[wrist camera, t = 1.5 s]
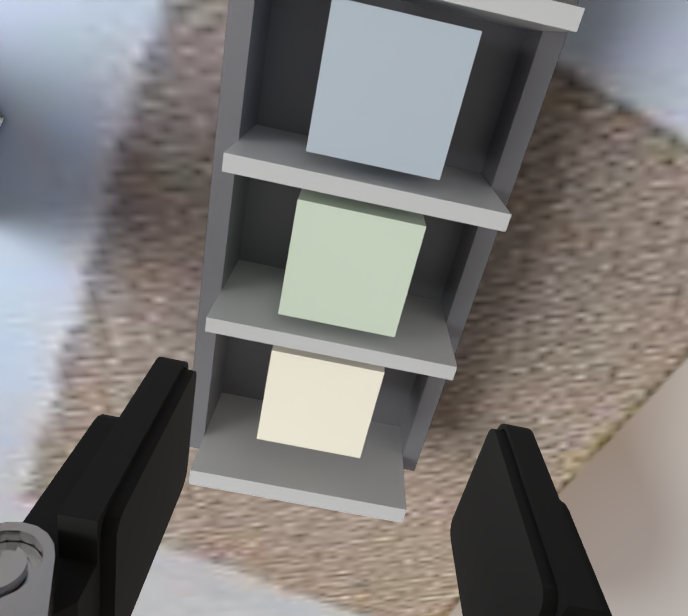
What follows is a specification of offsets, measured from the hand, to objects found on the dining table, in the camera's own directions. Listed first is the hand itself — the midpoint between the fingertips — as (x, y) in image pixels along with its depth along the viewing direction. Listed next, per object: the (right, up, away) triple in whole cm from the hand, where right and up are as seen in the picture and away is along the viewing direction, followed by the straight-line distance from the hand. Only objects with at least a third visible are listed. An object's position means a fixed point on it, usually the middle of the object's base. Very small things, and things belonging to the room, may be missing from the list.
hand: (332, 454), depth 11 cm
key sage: (+1, +6, +11) cm, 12 cm away
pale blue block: (+2, +11, +8) cm, 14 cm away
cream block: (-1, 0, +14) cm, 14 cm away
